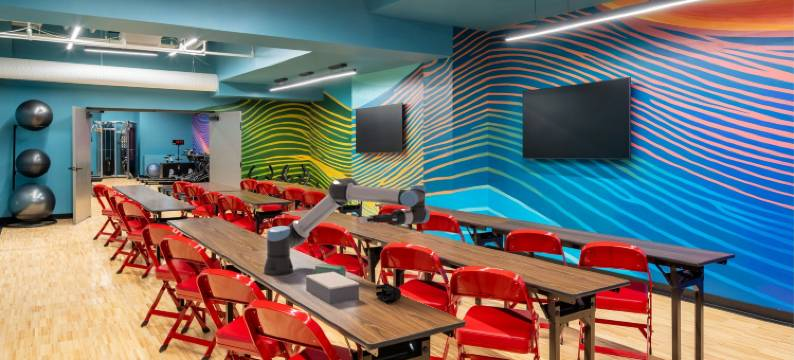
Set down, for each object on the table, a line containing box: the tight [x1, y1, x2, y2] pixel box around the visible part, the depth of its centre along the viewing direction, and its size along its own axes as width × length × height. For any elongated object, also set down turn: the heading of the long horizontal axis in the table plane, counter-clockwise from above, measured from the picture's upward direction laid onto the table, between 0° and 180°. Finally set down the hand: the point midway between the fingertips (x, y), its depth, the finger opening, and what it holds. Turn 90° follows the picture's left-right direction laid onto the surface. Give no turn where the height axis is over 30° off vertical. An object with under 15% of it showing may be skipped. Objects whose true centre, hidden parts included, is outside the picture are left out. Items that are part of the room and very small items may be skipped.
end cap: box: [375, 282, 402, 305], centre depth 216 cm, size 10×7×7 cm
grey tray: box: [305, 277, 360, 305], centre depth 223 cm, size 24×14×6 cm, turn 34°
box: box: [314, 263, 347, 277], centre depth 248 cm, size 7×14×8 cm, turn 69°
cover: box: [305, 272, 360, 289], centre depth 223 cm, size 24×14×1 cm, turn 34°
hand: (360, 220), depth 234 cm, fingers closed
